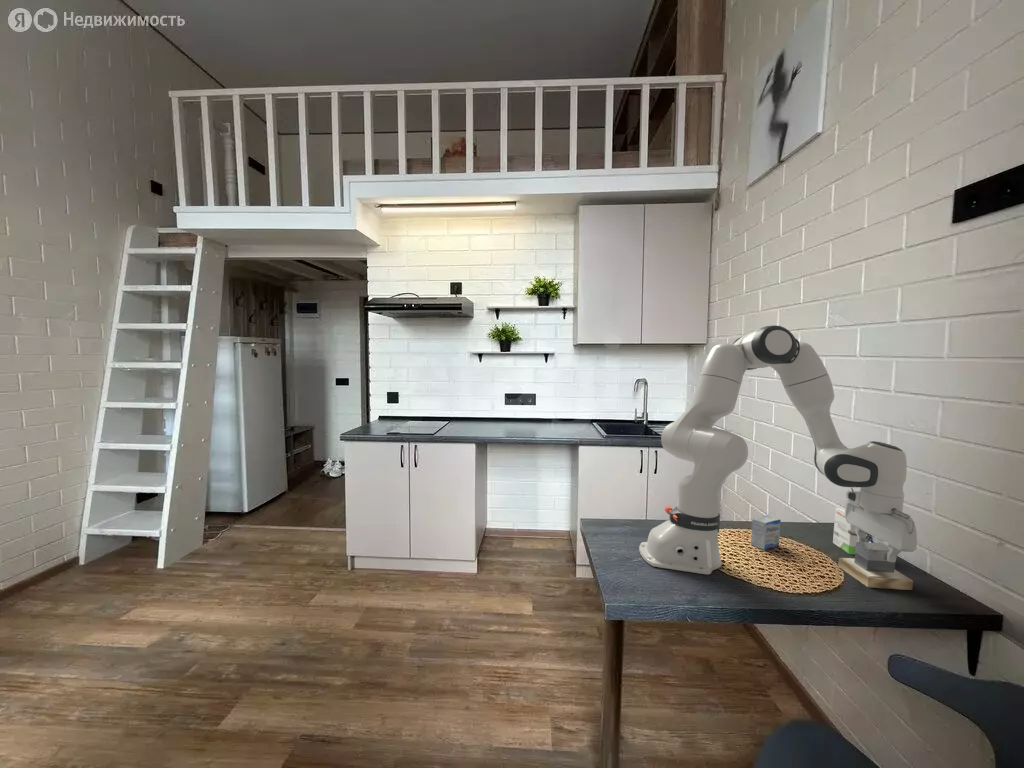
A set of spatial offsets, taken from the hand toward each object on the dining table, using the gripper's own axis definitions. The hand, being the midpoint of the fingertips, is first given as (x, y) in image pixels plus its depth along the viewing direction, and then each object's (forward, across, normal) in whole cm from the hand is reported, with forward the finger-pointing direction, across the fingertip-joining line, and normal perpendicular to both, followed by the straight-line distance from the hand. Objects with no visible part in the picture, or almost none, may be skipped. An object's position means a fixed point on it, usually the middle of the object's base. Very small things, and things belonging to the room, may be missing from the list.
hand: (875, 552), depth 115 cm
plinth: (+7, 0, 0) cm, 7 cm away
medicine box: (+8, +17, +20) cm, 27 cm away
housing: (+4, 0, 0) cm, 4 cm away
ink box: (+7, +18, -6) cm, 21 cm away
